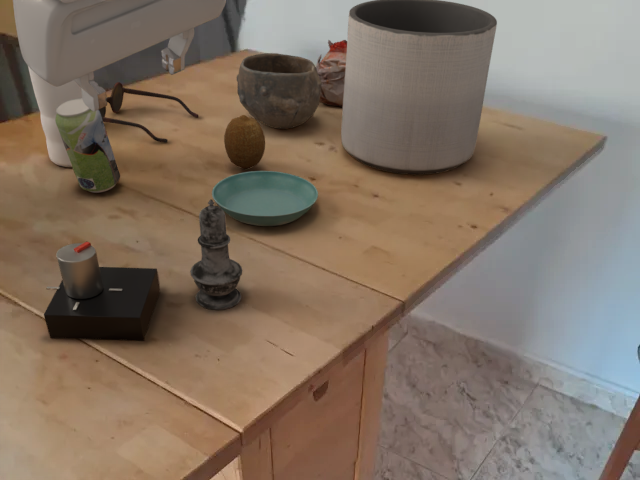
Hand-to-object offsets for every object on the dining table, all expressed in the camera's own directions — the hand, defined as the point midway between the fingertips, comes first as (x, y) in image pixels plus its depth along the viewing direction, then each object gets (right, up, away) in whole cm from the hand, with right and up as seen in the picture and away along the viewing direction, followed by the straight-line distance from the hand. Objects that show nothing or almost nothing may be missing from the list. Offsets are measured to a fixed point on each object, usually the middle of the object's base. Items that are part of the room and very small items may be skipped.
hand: (135, 86), depth 66 cm
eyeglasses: (-13, +20, +53) cm, 58 cm away
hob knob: (-8, -18, +9) cm, 21 cm away
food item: (+21, +31, +67) cm, 77 cm away
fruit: (+6, +8, +41) cm, 42 cm away
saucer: (+10, -2, +31) cm, 33 cm away
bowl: (+10, +21, +56) cm, 61 cm away
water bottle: (-21, +9, +41) cm, 47 cm away
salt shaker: (+6, -18, +14) cm, 24 cm away
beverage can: (-15, +2, +34) cm, 37 cm away
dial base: (-6, -20, +11) cm, 24 cm away
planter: (+32, +13, +48) cm, 59 cm away
